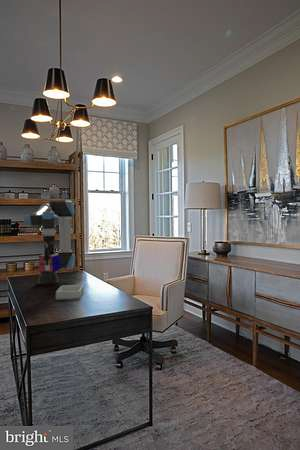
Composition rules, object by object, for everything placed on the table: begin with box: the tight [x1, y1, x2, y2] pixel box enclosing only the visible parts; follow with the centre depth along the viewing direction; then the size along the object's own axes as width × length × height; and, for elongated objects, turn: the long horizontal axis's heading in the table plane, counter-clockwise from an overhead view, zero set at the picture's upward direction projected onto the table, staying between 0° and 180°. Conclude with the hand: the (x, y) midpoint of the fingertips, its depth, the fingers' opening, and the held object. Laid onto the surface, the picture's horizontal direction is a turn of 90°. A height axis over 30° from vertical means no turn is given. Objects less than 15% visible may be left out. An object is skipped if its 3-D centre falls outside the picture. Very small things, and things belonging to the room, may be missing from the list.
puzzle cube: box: [38, 254, 61, 273], centre depth 217 cm, size 10×10×10 cm
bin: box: [55, 284, 85, 301], centre depth 218 cm, size 19×15×5 cm
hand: (50, 268), depth 217 cm, fingers closed on puzzle cube, 11 cm apart
